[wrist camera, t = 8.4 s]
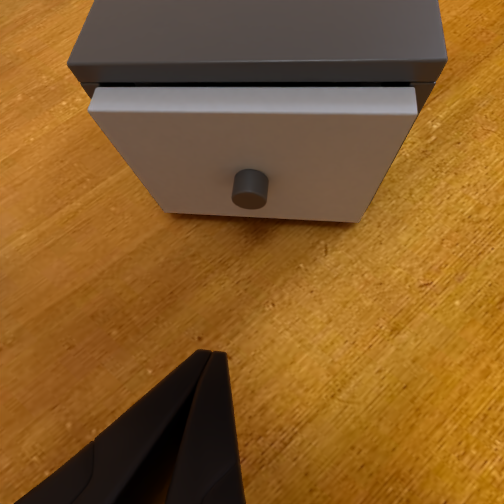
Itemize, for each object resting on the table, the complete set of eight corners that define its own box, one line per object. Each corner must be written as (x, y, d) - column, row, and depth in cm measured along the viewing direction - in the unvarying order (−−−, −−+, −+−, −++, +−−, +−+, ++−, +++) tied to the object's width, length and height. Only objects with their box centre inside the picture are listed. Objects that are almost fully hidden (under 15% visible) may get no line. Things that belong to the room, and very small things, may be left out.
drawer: (359, 243, 16) (422, 144, 9) (160, 230, 18) (75, 137, 10) (356, 62, 21) (395, -97, 14) (198, 64, 22) (159, -81, 15)
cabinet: (365, 212, 18) (449, 59, 9) (164, 202, 19) (64, 63, 11) (360, 52, 23) (413, -154, 14) (199, 54, 24) (150, -129, 15)
